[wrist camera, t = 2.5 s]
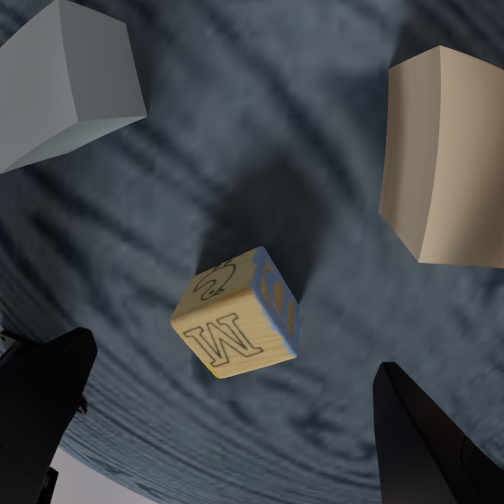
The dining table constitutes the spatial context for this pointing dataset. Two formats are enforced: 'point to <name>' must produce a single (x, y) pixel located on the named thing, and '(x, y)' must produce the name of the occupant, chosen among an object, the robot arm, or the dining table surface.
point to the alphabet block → (239, 315)
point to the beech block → (446, 159)
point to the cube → (65, 84)
